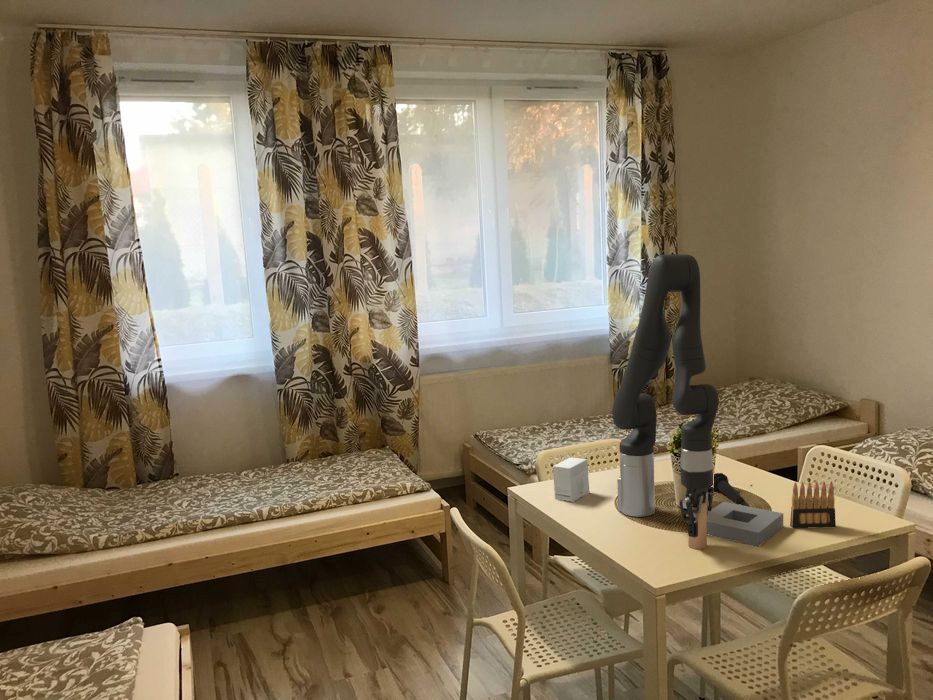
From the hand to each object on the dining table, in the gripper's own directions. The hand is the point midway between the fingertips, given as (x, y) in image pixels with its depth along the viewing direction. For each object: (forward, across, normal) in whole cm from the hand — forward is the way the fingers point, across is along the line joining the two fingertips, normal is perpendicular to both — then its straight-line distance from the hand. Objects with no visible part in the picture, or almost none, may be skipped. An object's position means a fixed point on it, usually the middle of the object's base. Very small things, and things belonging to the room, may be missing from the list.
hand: (697, 532), depth 188 cm
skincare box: (+4, -14, -47) cm, 49 cm away
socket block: (+3, -16, +4) cm, 17 cm away
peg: (+3, 0, 0) cm, 3 cm away
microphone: (+4, -37, -9) cm, 38 cm away
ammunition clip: (+4, -28, +18) cm, 33 cm away
